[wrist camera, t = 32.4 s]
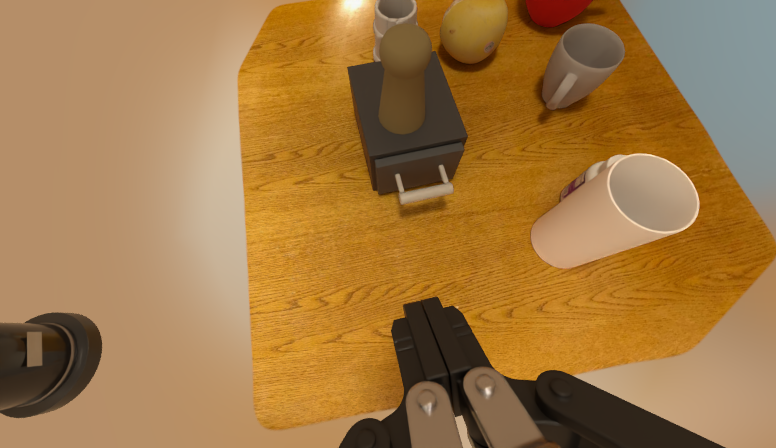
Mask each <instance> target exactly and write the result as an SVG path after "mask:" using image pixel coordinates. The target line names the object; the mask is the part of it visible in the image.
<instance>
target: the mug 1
mask: <svg viewBox="0 0 776 448" xmlns="http://www.w3.org/2000/svg"><path fill="white" fill-rule="evenodd" d="M416 5H417V4H416V1H415V0H377V1H376V3H375V19H374V23H373V29H374V34H375V46H374V49H373V57H374V61H375V62H378V61H381V60H380V56H379V47H380V42H381V39H382V37H383V36H384V34H385V33H386V31H387V30H388V29H389V28H391V27H392V26H395V25H397V24H403V23H408V24H414V25H417V26H418V22H417V6H416Z"/></svg>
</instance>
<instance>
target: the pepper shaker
mask: <svg viewBox="0 0 776 448" xmlns="http://www.w3.org/2000/svg"><path fill="white" fill-rule="evenodd" d="M431 53H432V45H431V41H430V38H429V36H428V34H427V33H426V32H425V31H424V29H422V28H421V27H419V26H417V25H414V24H408V23H403V24H397V25H395V26H392V27H391V28H389V29H388V30H387V31H386V33H385V34H384V36H383V37H382V39H381V42H380V47H379V56H380V60H381V63H382V66H383V68H384V69H385V70H384V78H383V85H382V92H381V100H380V107H379V115H378V117H379V121H380V123H381V124H382V126H383V127H384V128H385V129H387V130H388V131H390V132H392V133H395V134H409V133H412V132H414V131H416V130H418V129H419V128H420V127H421V126H422V124H423V122H424V120H425V82H424V70H425V69H426V68H427V66H428V64H429V62H430V59H431Z"/></svg>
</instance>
